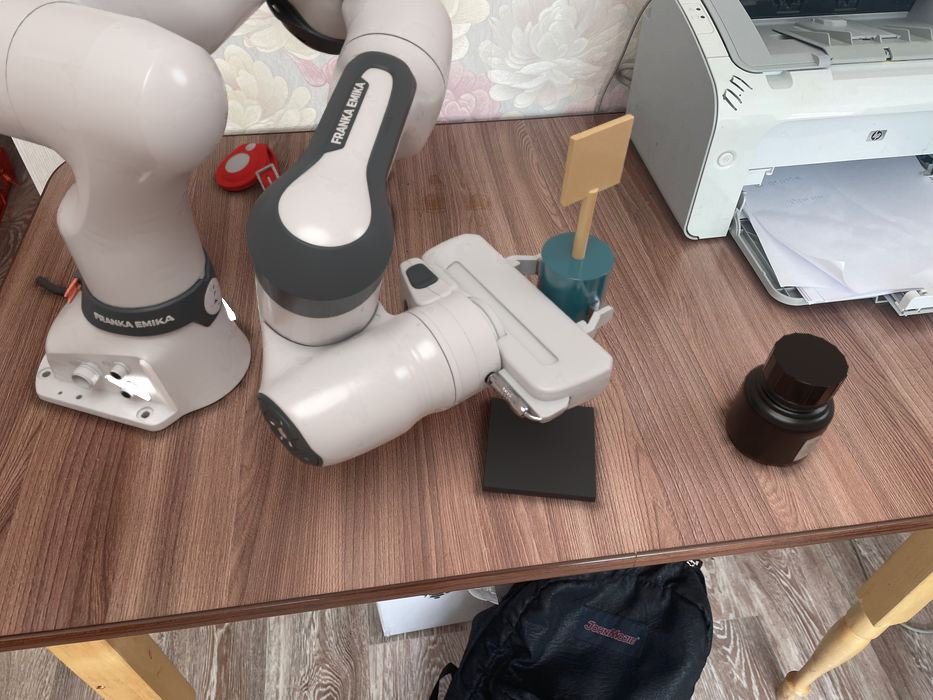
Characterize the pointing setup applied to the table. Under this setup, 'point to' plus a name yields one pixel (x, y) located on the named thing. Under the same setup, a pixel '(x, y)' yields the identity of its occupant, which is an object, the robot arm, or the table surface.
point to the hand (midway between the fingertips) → (578, 283)
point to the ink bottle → (787, 400)
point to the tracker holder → (248, 167)
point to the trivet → (541, 454)
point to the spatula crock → (584, 221)
